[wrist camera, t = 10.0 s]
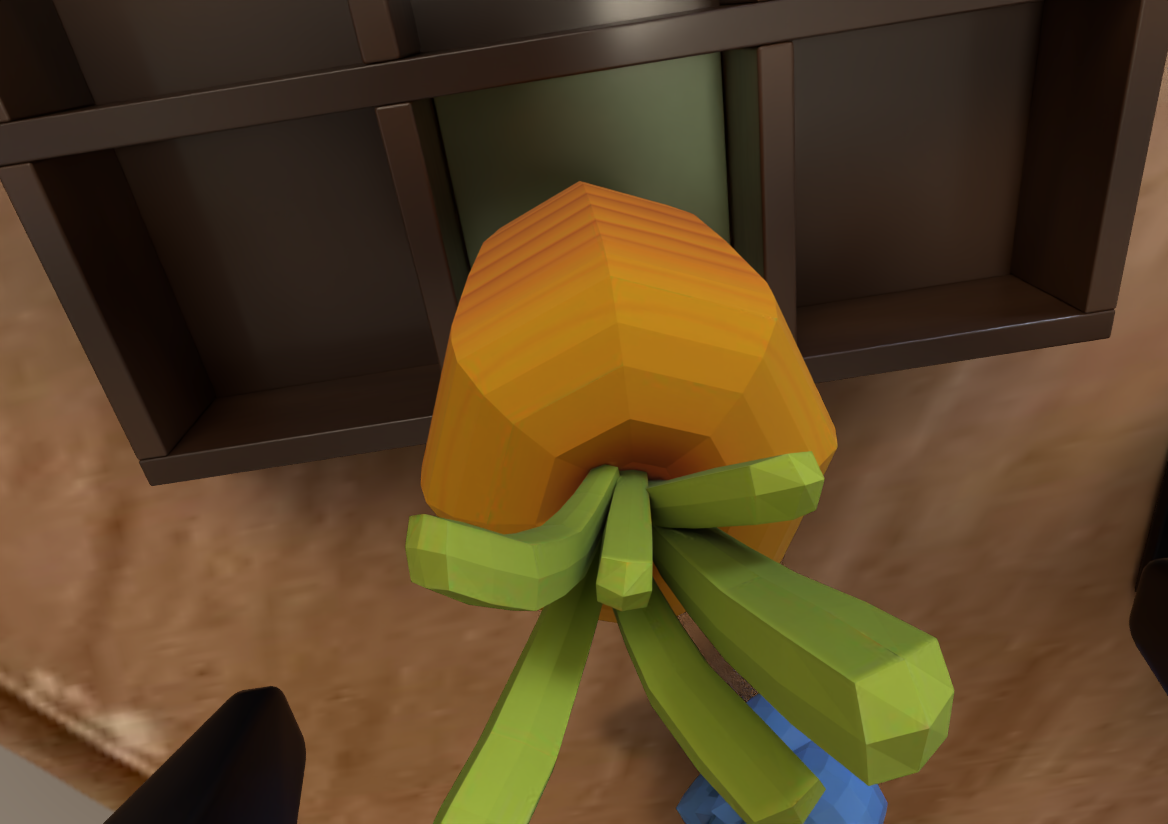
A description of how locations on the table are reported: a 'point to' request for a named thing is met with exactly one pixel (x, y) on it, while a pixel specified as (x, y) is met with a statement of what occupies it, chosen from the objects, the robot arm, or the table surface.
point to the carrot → (652, 511)
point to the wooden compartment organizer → (549, 183)
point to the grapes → (847, 806)
